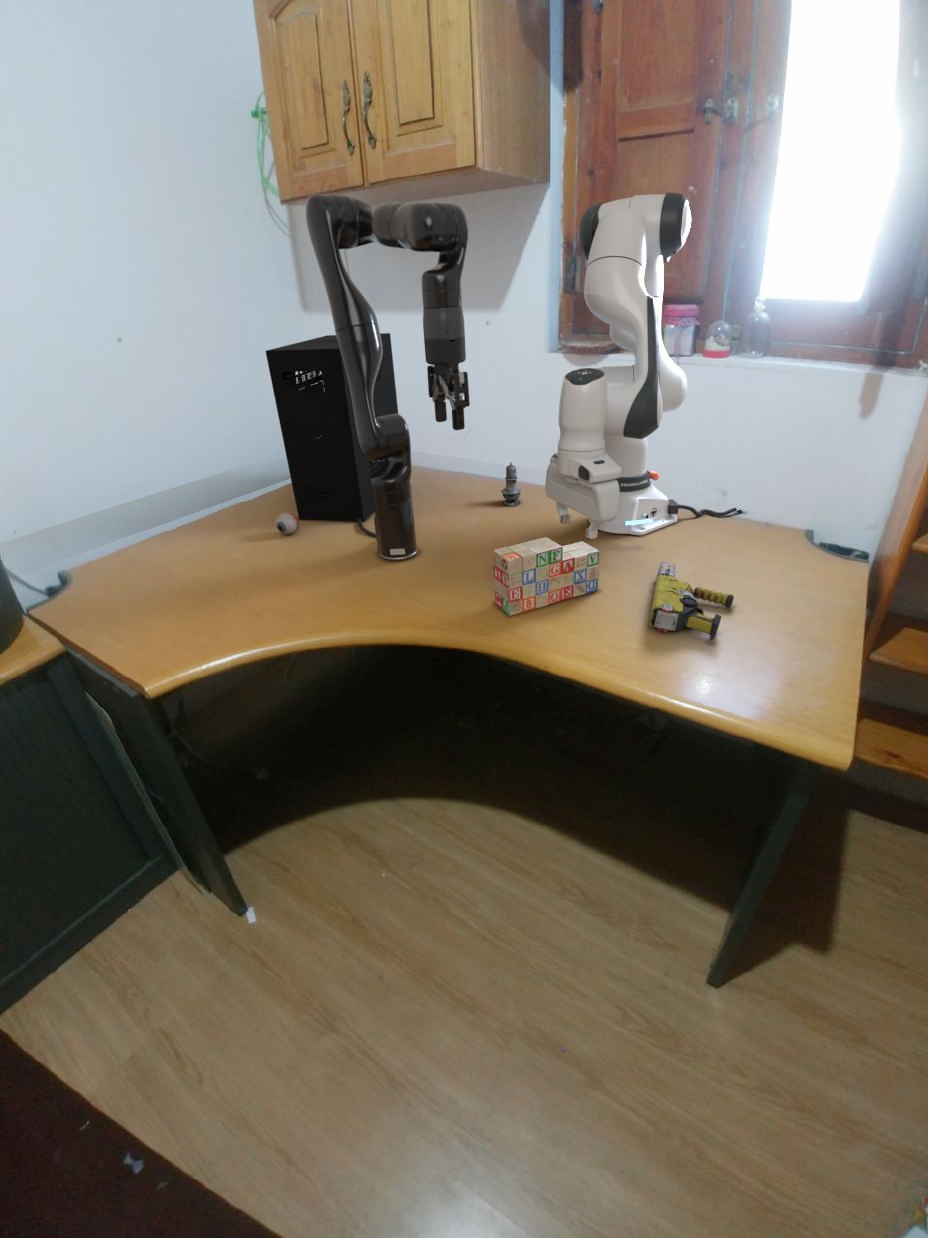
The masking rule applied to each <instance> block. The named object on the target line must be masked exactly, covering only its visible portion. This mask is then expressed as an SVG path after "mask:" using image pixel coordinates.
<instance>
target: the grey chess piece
mask: <svg viewBox="0 0 928 1238" xmlns="http://www.w3.org/2000/svg"><path fill="white" fill-rule="evenodd" d="M505 475H506V476H505V477H504V479H505V488H503V489H502V490H501V494H502V497H503V498H504V500H503V501H502V504H503V505H504V506H508V507H511V506H518V505H520V504H521V501H520V500H519V498H520V496H521V493H522V489H520V488H519V487H518V484H517V480H518V476H517V467H516V466H515V465H514V464H513V462H510V463H509V465H507V466H506V469H505Z"/></svg>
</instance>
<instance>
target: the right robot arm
mask: <svg viewBox="0 0 928 1238" xmlns="http://www.w3.org/2000/svg"><path fill="white" fill-rule="evenodd" d="M691 223H692V214H691V210H690V206H689V200H688V199H687V198H686V196H685V195H684V194H683V193H679V192H672V191H671V192H670V191H668V192H666V193H662V194H661V193H657V194H655V193H649V194H637V195H633V196H631V197H624V198H620V199H615V200H611V201H608V202H605V203H604V202H602V201H601V202H598V203H595V204H593V205H591V206H589V207H588V208H587V209H586V210H585V211H584V212H583V214H582V215H581V218H580V221H579V227H578V236H577V237H578V244H579V250H580V253H581V255H582V256H583V257H584V258H585V259H586V261H587V263H586V270H585V274H584V275H585V277H584V286H583V297H584V301H585V303H586V306H587V308H588V310H589V311H590V312H591V313H592V314H593V315H594V316H595V317H596V318H597V319H599V320H600V321H602V322H604V323H605V324H606V325H607V324H608V325H609V336H610V338H611V341H612V342H613V343H614V344H615V345H616V346H618V347H620V348H621V349H623V350H624V351H627V352H629V353H631V354H632V355H633V356H634V364H631V365H617V366H615V365H614V366H601V367H597V368H596V367H595V368H593V367H583V368H578V369H573V370H571V371H569V372H567V373H566V374H564V376H563V379H562V385H561V390H560V396H559V404H558V405H559V406H558V421H557V422H558V427H559V439H558V442H557V452H554V454H552V455H551V457H550V458H549V459H550V460H549V464H548V466H547V469H546V476H545V484H544V486H545V487H544V492H545V495H546V498H549V499H550V500H553V501H554V502H555V507H556V510H557V513H558V515H559V517H558V521H559V522H558V523H560V524H562V525H564V526H565V525H568V524H570V523H571V514H569V511H568V508H569V509H571V510H573V511H575V512H577V513H579V514H581V515H583V516H585V517H587V518H588V522H589V523H590V524H589V527H587V528H585V537H586V538H588V539H590V540H593V539H596V538H597V537H598V532H599V531H601V532H605V533H611V534H623V535H625V534H626V535H632V536H633V535H634V536H645V535H646V534H650V533H652V532H654V531H657V530H660V529H662V528H665V527H668V526H670V525H672V524H675V523H677V522H678V516H677V515H678V514H679V509H681V510H688V511H690V512H691V513H692V514H693V515H694V516H696V517H702V515H703V514H710V515H712V516H715V517H723V516H728V515H730V514H731V513H734V512H736V513H738V514H744V512H743V510H742V509H740V510H738V511H736V510H737V509H736V508H737V507H732V508H729V509H727V510H725V511H719V512H718V511H714V510H711V509H708V508H707V509H706V508H704V509H700V510H699V511H697V509H696V508H694V507H692V506H689V505H687V504H686V505H685V504H679V503H678V502H677V501H676V500H674V499H671V498H668V497H667V496H666V495H665V494H664V493H663V492H661V491H660V490H659V489H658V488H656V487H655V486H654V485H652V483H651V480H653V481H658V479H659V478H660V473H659V472H657V471H654V470H651V471H649V470H648V469H647V466H648V458H649V457H648V456H649V447H650V443H649V440H648V437H649V436H650V435H651V434H653V433H654V432H656V430H657V429H659V427H660V424H661V422H662V418H663V414H664V413H669V412H672V411H676V410H677V409H679V408H680V407H681V405H682V404H683V402H684V400H685V399H686V396H687V393H688V387H689V386H688V380H687V376H686V374H685V372H684V370H683V369H681V367H679V366H678V365H677V364H676V363H675V362H674V360H672V358H671V357H670V356H669V354H668V352H667V350H666V347H665V345H664V342H663V337H662V310H663V296H664V263H665V264H666V263H669V261H670V259H671V257H673V256H674V255H676V254H678V252H679V251H680V250H682V248H683V246H684V245H685V243H686V239H687V237H688V235H689V232H690V230H691V229H690V228H691ZM598 530H599V531H598Z"/></svg>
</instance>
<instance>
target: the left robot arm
mask: <svg viewBox="0 0 928 1238" xmlns="http://www.w3.org/2000/svg"><path fill="white" fill-rule="evenodd" d="M305 223H306V228H307V233H308V236H309V240H310V243H311V244H310V245H311V246H312V249H313V253H314V257H315V260H316V262H317V266H318V269H319V272H320V275H321V279H322V282H323V285H324V289H325V291H326V292H325V293H326V297H327V301H328V305H329V309H330V314H331V318H332V323H333V328H334V332H335V335H336V337H337V342H338V346H339V350H340V354H341V357H342V361H343V365H344V370H345V374H346V378H347V382H348V387H349V392H350V398H351V404H352V411H353V417H354V424H355V430H356V436H357V441H358V444H359V447H360V450H361V452H362V454H363V456H364V457H365V458H366V459H367V460H368V461H373V462H375V461H379V460H382V459H386V461H385V463H384V464H383V465H382V467H381V468H380V469H378V470H377V471H376V472H375V473H373V474H372V476H371V488H372V495H373V503H374V510H375V511H374V516H373V521H374V529H375V533H373V532H372V531H370V530H368V529H367V528H365V527H364V525H363V521H361V519H360V518H358V519H357V520H358V521H357V523H358V526H359V528H360V530H361V531H362V532H363V533H365V534H367V535H368V536H370V537H373V538H375V539H376V544H377V545H376V546H377V551H378V553H379V557H380V558H381V559H383V560H386V561H392V562H394V561H395V562H396V561H397V562H398V561H399V562H400V561H407V560H409V559H411V558H414V557H415V556H416V555H417V554H418V552H419V551H418V545H417V535H416V524H415V523H416V522H415V513H414V512H415V511H414V503H413V493H412V483H411V478H412V477H411V476H412V470H413V468H412V466H413V465H412V450H411V449H412V446H411V445H412V444H411V443H412V442H411V435H410V429H409V427H408V426H409V425H408V424H407V422H406V419H405V418H404V417H403V416H402V415H401V414H399V413H398V414H396V413H393V414H387V415H382V416H377V417H375V413H374V406H373V388H374V384H375V380H376V376H377V373H378V370H379V367H380V363H381V359H382V353H383V346H382V340H381V335H380V333H381V331H380V326H379V321H378V318H377V315H376V313H375V311H374V309H373V307H372V306H371V304H370V303H369V302H368V300H367V299H366V297H365V296H364V295H363V294H362V292H361V291H360V290H359V288H358V286H356V284H355V283H354V281H352V279H351V277H350V275H349V274H348V272H347V270H346V267H345V264H344V261H343V258H342V255H341V250H353V249H355V248H359V247H362V246H366V245H370V244H378V245H381V246H383V247H384V248H391V249H392V248H393V249H401V250H402V249H403V250H409V251H413V252H417V253H438V257H437V262H436V265H435V266H434V267H433V268H429V269H427V270H425V271H424V272H423V273H422V274H421V278H420V280H421V282H420V283H421V284H420V287H421V298H422V330H423V342H424V355H425V362H426V364H428V365H427V369H426V370H427V387H428V389H427V390H428V398H432V399H431V400H432V402H433V403H434V417H435V421H436V422H437V423H445V422H446V421H447V420H448V415H447V413H448V412H447V402H446V400H448V401H449V404H450V407H451V422H452V423H451V424H452V430H454V431H462V430H464V429H465V427H466V426H465V409H466V408H467V407H470V404H471V402H470V401H471V400H470V389H469V387H470V386H469V376H468V375H469V374H468V372H467V371H460V367H459V366H460V365H459V364H460V363H464V362H466V359H467V351H466V331H465V330H466V329H465V318H464V316H465V315H464V310H463V297H462V296H463V295H462V294H463V293H462V277H463V270H464V265H465V260H466V253H467V249H468V248H467V247H468V242H469V223H468V219H467V216H466V213H465V212H464V210H463V209H462V207H461V206H460V205H458V204H456V203H454V202H407V201H405V202H403V201H397V202H396V201H390V202H382V203H378V204H373V203H369V202H367V201H364V200H362V199H358V198H355V197H352V196H350V195H347V194H328V193H318V194H317V193H316V194H312V195H310V196H309V197H308V199H307V201H306V204H305Z"/></svg>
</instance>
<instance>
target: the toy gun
mask: <svg viewBox="0 0 928 1238" xmlns="http://www.w3.org/2000/svg"><path fill="white" fill-rule="evenodd" d="M658 566H659V567H658V571H657V575H656V578H655V583H654V588H653V594H652V600H651V606H650V611H649V612H650V614H649V618H648V623H649V625H650V626H651V627H653V628H657V631H659V632H661V631H662V632H664V633H667V632H668V631H672V632H677V631H678V632H679V631H682V630H684V629H685V628H689V629H693V630H696V631H700V632H703V633H705V634H707V635H710V640H715V638H716V636H717V634H718V630H719V627H720V623H721V621H722V620H721V619H722V615H720V614H718V613H716V614H715V615H714V617H710V616H708V615H705V614H704V613H705V612H704V610H703V609H702V608H700V607H699V604H698V603H699V602H698V600H699V599H701V600H703V601H708V603H714V604H715V605H719V604H720V605H721V606H724V607H726V608H731V607H732V605H733V602H734V599H735V596H734V595H733V594H728V593H722V592H721V591H718V592H717V591H716V590H715V589H714V590H710V589H708V588H703V587H702V586H697V587H695V588H694V589H693V587H692V585H691V584H690V583H689V582H686V581H682V580H679V579H677V578H675V577H676V568H677V565H676V564H675V563H671V562H670V563H669V565H667V562H665V561H662V562H660V563H659V565H658ZM667 567H668V568H667ZM697 599H698V600H697Z"/></svg>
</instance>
